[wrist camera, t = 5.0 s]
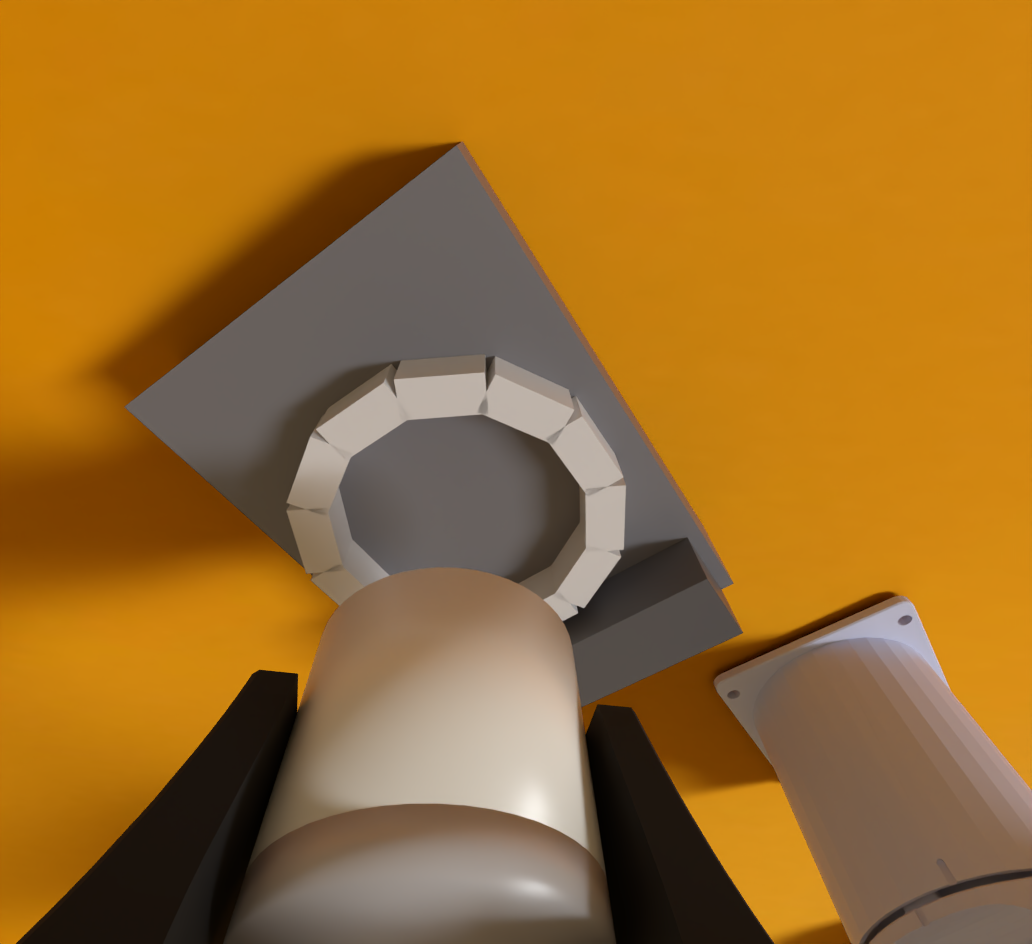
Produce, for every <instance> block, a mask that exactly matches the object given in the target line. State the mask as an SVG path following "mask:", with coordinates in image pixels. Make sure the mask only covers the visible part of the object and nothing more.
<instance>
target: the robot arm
mask: <svg viewBox="0 0 1032 944" xmlns="http://www.w3.org/2000/svg"><path fill="white" fill-rule="evenodd" d="M714 686H715V688H716V691H717V693H718V694H719V695H720V697H721V698H722V699H723V701H724V702H725V703H726V705H727V706H728V707H729V709H730V710H731V711H732V713H733V714H734V715H735V717H736V718H737V719H738V721H739V722H740V723H741V725H742V726H743V727H744V729H745V730H746V731H747V733H748V734H749V735H750V737H751V738H752V739H753V741H754V742H755V743H756V745H757V746H758V747H759V749H760V750H761V751H762V753H763V754H764V756H765V757H766V758H767V760H768V761H769V762H770V764H771V765H772V766H773V768H774V770H775V772H776V774H777V777H778V779H779V781H780V783H781V786H782V788H783V790H784V792H785V795H786V797H787V799H788V802H789V804H790V806H791V808H792V811H793V813H794V815H795V817H796V820H797V822H798V824H799V826H800V829H801V831H802V833H803V836H804V838H805V840H806V842H807V845H808V847H809V849H810V851H811V854H812V856H813V858H814V861H815V863H816V865H817V867H818V870H819V872H820V874H821V876H822V879H823V881H824V883H825V886H826V888H827V890H828V892H829V895H830V897H831V899H832V901H833V904H834V906H835V908H836V910H837V913H838V915H839V917H840V920H841V922H842V924H843V926H844V929H845V931H846V933H847V935H848V938H849V940H850V942H851V944H1032V790H1031V789H1030V788H1029V787H1028V785H1027V784H1026V783H1025V782H1024V781H1023V779H1022V778H1021V777H1020V776H1019V774H1018V773H1017V772H1016V771H1015V769H1014V768H1013V767H1012V766H1011V765H1010V763H1009V762H1008V761H1007V760H1006V758H1005V757H1004V756H1003V755H1002V753H1001V752H1000V751H999V750H998V749H997V747H996V746H995V745H994V744H993V742H992V741H991V740H990V739H989V737H988V736H987V735H986V734H985V733H984V731H983V730H982V729H981V728H980V726H979V725H978V724H977V723H976V721H975V720H974V719H973V718H972V717H971V715H970V714H969V713H968V712H967V710H966V709H965V708H964V707H963V705H962V704H961V703H960V702H959V701H958V699H957V698H956V697H955V696H954V694H953V693H952V692H951V690H950V688H949V686H948V683H947V681H946V679H945V676H944V674H943V672H942V669H941V667H940V665H939V662H938V660H937V658H936V655H935V653H934V651H933V648H932V646H931V644H930V641H929V639H928V637H927V635H926V632H925V630H924V628H923V625H922V623H921V621H920V618H919V616H918V614H917V611H916V609H915V607H914V605H913V604H912V603H911V602H910V600H909V599H908V598H907V597H904V596H895V597H892V598H890V599H888V600H885V601H883V602H881V603H879V604H876V605H874V606H872V607H870V608H867V609H865V610H863V611H861V612H858V613H856V614H854V615H852V616H849V617H847V618H845V619H843V620H840V621H838V622H836V623H834V624H831V625H829V626H827V627H825V628H822V629H820V630H818V631H816V632H813V633H811V634H809V635H807V636H804V637H802V638H800V639H798V640H796V641H793V642H791V643H789V644H787V645H784V646H782V647H780V648H778V649H775V650H773V651H771V652H769V653H766V654H764V655H762V656H760V657H757V658H755V659H753V660H751V661H748V662H746V663H744V664H742V665H739V666H737V667H735V668H733V669H730V670H728V671H726V672H724V673H721V674H720V675H718V676H717V677H716V678H715V679H714ZM297 691H298V674H295V673H285V672H275V671H266V670H258V671H257V672H255V673H253V674H252V675H251V677H250V678H249V680H248V681H247V683H246V684H245V686H244V687H243V688H242V690H241V691H240V693H239V694H238V695H237V697H236V698H235V700H234V701H233V702H232V704H231V705H230V706H229V708H228V709H227V710H226V712H225V713H224V714H223V716H222V717H221V718H220V720H219V721H218V722H217V724H216V725H215V726H214V727H213V729H212V730H211V731H210V732H209V734H208V735H207V736H206V738H205V739H204V740H203V741H202V743H201V744H200V745H199V746H198V748H197V749H196V750H195V751H194V753H193V754H192V755H191V756H190V757H189V758H188V760H187V761H186V762H185V763H184V764H183V766H182V767H181V768H180V769H179V770H178V772H177V773H176V774H175V775H174V776H173V777H172V779H171V780H170V781H169V782H168V783H167V785H166V786H165V787H164V788H163V789H162V791H161V792H160V793H159V794H158V795H157V796H156V798H155V799H154V800H153V801H152V802H151V803H150V804H149V806H148V807H147V808H146V809H145V810H144V811H143V812H142V813H141V814H140V816H139V817H138V818H137V819H136V820H135V821H134V822H133V823H132V824H131V825H130V826H129V828H128V829H127V830H126V831H125V832H124V833H123V834H122V835H121V836H120V837H119V838H118V840H117V841H116V842H115V843H114V844H113V845H112V846H111V847H110V848H109V849H108V850H107V852H106V853H105V854H104V855H103V856H102V857H101V858H100V859H99V860H98V861H97V862H96V864H95V865H94V866H93V867H92V868H91V869H90V870H89V871H88V872H87V873H86V874H85V875H84V876H83V877H82V878H81V879H80V880H79V881H78V882H77V883H76V884H75V885H74V886H73V887H72V888H71V889H70V890H69V891H68V893H67V894H66V895H65V896H64V897H63V898H62V899H61V900H60V901H59V902H58V903H57V904H56V905H55V906H54V907H53V908H52V909H51V910H50V911H49V912H48V913H47V914H46V915H45V916H44V917H43V918H41V919H40V920H39V921H38V922H37V923H36V924H35V925H34V926H33V927H32V928H31V929H30V930H29V931H28V932H27V933H26V934H25V935H24V936H23V937H22V938H21V939H20V940H19V941H18V942H17V943H16V944H223V942H224V939H225V936H226V933H227V930H228V927H229V923H230V920H231V917H232V914H233V911H234V908H235V905H236V902H237V899H238V895H239V892H240V889H241V886H242V883H243V880H244V877H245V874H246V871H247V867H248V864H249V861H250V858H251V855H252V852H253V849H254V846H255V843H256V839H257V836H258V833H259V830H260V827H261V824H262V821H263V818H264V815H265V811H266V808H267V805H268V802H269V799H270V796H271V793H272V790H273V787H274V783H275V780H276V777H277V774H278V771H279V768H280V765H281V762H282V759H283V755H284V752H285V749H286V746H287V743H288V740H289V737H290V734H291V731H292V727H293V724H294V721H295V718H296V715H297ZM585 736H586V743H587V749H588V756H589V763H590V770H591V776H592V783H593V790H594V796H595V803H596V810H597V817H598V823H599V830H600V837H601V844H602V850H603V857H604V864H605V871H606V877H607V884H608V891H609V897H610V904H611V911H612V918H613V924H614V931H615V938H616V944H774V942H773V941H772V940H771V938H770V937H769V935H768V934H767V932H766V931H765V930H764V928H763V927H762V925H761V924H760V922H759V921H758V919H757V918H756V916H755V915H754V914H753V912H752V911H751V909H750V908H749V906H748V905H747V903H746V902H745V900H744V899H743V897H742V895H741V894H740V892H739V891H738V889H737V888H736V886H735V885H734V883H733V882H732V880H731V879H730V877H729V876H728V874H727V873H726V871H725V869H724V868H723V866H722V865H721V863H720V861H719V860H718V858H717V857H716V855H715V853H714V852H713V850H712V849H711V847H710V845H709V844H708V842H707V840H706V839H705V837H704V835H703V834H702V832H701V830H700V829H699V827H698V825H697V824H696V822H695V820H694V819H693V817H692V815H691V814H690V812H689V810H688V809H687V807H686V805H685V803H684V802H683V800H682V798H681V796H680V795H679V793H678V791H677V789H676V788H675V786H674V784H673V782H672V780H671V779H670V777H669V775H668V773H667V772H666V770H665V768H664V766H663V764H662V762H661V761H660V759H659V757H658V755H657V753H656V751H655V750H654V748H653V746H652V744H651V742H650V740H649V738H648V736H647V735H646V733H645V731H644V729H643V727H642V725H641V723H640V721H639V719H638V718H637V716H636V714H635V712H634V711H633V710H632V708H629V707H619V706H610V705H600V704H598V705H597V707H596V710H595V712H594V715H593V717H592V720H591V723H590V725H589V728H588V730H587V733H586V735H585Z"/></svg>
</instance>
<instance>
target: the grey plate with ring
mask: <svg viewBox="0 0 1032 944" xmlns="http://www.w3.org/2000/svg"><path fill="white" fill-rule="evenodd" d="M125 408H126V409H127V410H128V411H129V412H131V413H132V414H133V415H134V416H135V417H136V418H137V419H138V420H139V421H141V422H142V423H143V424H144V425H145V426H146V427H147V428H148V429H150V430H151V431H152V432H153V433H154V434H155V435H156V436H157V437H158V438H160V439H161V440H162V441H163V442H164V443H165V444H166V445H167V446H168V447H170V448H171V449H172V450H173V451H174V452H175V453H176V454H177V455H179V456H180V457H181V458H182V459H183V460H184V461H185V462H186V463H187V464H189V465H190V466H191V467H192V468H193V469H194V470H195V471H196V472H198V473H199V474H200V475H201V476H202V477H203V478H204V479H205V480H206V481H208V482H209V483H210V484H211V485H212V486H213V487H214V488H215V489H216V490H218V491H219V492H220V493H221V494H222V495H223V496H224V497H225V498H227V499H228V500H229V501H230V502H231V503H232V504H233V505H234V506H235V507H237V508H238V509H239V510H240V511H241V512H242V513H243V514H244V515H246V516H247V517H248V518H249V519H250V520H251V521H252V522H253V523H254V524H256V525H257V526H258V527H259V528H260V529H261V530H262V531H263V532H265V533H266V534H267V535H268V536H269V537H270V538H271V539H272V540H273V541H275V542H276V543H277V544H278V545H279V546H280V547H281V548H282V549H283V550H285V551H286V552H287V553H288V554H289V555H290V556H291V557H292V558H294V559H295V560H296V561H297V562H298V563H299V564H300V565H301V566H302V567H304V568H305V571H306V574H307V573H310V574H311V575H313V576H312V578H311V581H312V582H313V583H314V584H316V585H317V586H318V587H319V588H320V589H321V590H322V591H323V592H325V593H326V594H327V595H328V596H329V597H330V598H331V599H332V600H333V601H335V602H336V603H337V604H338V605H339V606H340V605H341V604H342V603H343V602H344V601H345V600H346V599H348V598H349V597H350V596H352V595H353V594H354V593H355V592H357V591H358V590H360V589H362V588H364V587H365V586H367V585H369V584H371V583H373V582H375V581H378V580H380V579H382V578H384V577H388V576H391V575H394V574H398V573H401V572H406V571H411V570H416V569H425V568H436V567H443V568H463V569H471V570H477V571H482V572H486V573H491V574H494V575H497V576H500V577H503V578H506V579H509V580H511V581H513V582H515V583H517V584H519V585H522V586H524V587H525V588H527V589H528V590H530V591H532V592H533V593H535V594H537V595H538V596H539V597H540V598H541V599H543V600H544V601H545V602H546V603H548V604H549V605H550V606H551V608H552V609H553V610H554V611H555V612H556V613H557V614H558V616H559V617H560V619H561V620H562V622H563V623H564V625H565V627H566V629H567V631H568V634H569V636H570V640H571V644H572V648H573V655H574V662H575V669H576V675H577V682H578V689H579V696H580V702H581V707H583V706H585V705H587V704H590V703H592V702H594V701H596V700H598V699H600V698H603V697H605V696H607V695H609V694H611V693H614V692H616V691H618V690H620V689H622V688H624V687H627V686H629V685H631V684H633V683H635V682H637V681H640V680H642V679H644V678H646V677H648V676H650V675H653V674H655V673H657V672H659V671H661V670H664V669H666V668H668V667H670V666H672V665H674V664H677V663H679V662H681V661H683V660H685V659H687V658H690V657H692V656H694V655H696V654H698V653H701V652H703V651H705V650H707V649H709V648H711V647H714V646H716V645H718V644H720V643H722V642H724V641H727V640H729V639H731V638H733V637H735V636H737V635H740V634H742V633H743V632H742V630H741V628H740V626H739V624H738V622H737V620H736V618H735V616H734V614H733V612H732V610H731V608H730V606H729V604H728V602H727V600H726V598H725V596H724V594H723V592H722V590H721V589H723V588H725V587H727V586H729V585H731V584H733V582H732V580H731V578H730V576H729V574H728V572H727V570H726V568H725V567H724V565H723V563H722V561H721V559H720V557H719V555H718V553H717V551H716V550H715V548H714V546H713V544H712V542H711V540H710V538H709V536H708V534H707V533H706V531H705V529H704V527H703V525H702V524H701V522H700V520H699V519H698V517H697V516H696V514H695V512H694V511H693V509H692V508H691V506H690V504H689V503H688V501H687V500H686V498H685V496H684V495H683V493H682V492H681V490H680V488H679V487H678V485H677V484H676V482H675V480H674V479H673V477H672V476H671V474H670V472H669V471H668V469H667V468H666V466H665V464H664V463H663V461H662V460H661V458H660V456H659V455H658V453H657V452H656V450H655V448H654V447H653V445H652V444H651V442H650V440H649V439H648V437H647V436H646V434H645V432H644V431H643V429H642V428H641V426H640V424H639V423H638V421H637V420H636V418H635V416H634V415H633V413H632V412H631V410H630V408H629V407H628V405H627V404H626V402H625V400H624V399H623V397H622V396H621V394H620V392H619V391H618V389H617V388H616V386H615V384H614V383H613V381H612V380H611V378H610V376H609V375H608V373H607V372H606V370H605V368H604V367H603V365H602V364H601V362H600V360H599V359H598V357H597V356H596V354H595V352H594V351H593V349H592V348H591V346H590V344H589V343H588V341H587V340H586V338H585V336H584V335H583V333H582V332H581V330H580V328H579V327H578V325H577V324H576V322H575V320H574V319H573V317H572V316H571V314H570V312H569V311H568V309H567V308H566V306H565V304H564V303H563V301H562V300H561V298H560V296H559V295H558V293H557V292H556V290H555V288H554V287H553V285H552V284H551V282H550V280H549V279H548V277H547V276H546V274H545V273H544V271H543V269H542V268H541V266H540V265H539V263H538V261H537V260H536V258H535V257H534V255H533V253H532V252H531V250H530V249H529V247H528V245H527V244H526V242H525V241H524V239H523V237H522V236H521V234H520V233H519V231H518V229H517V228H516V226H515V225H514V223H513V221H512V220H511V218H510V217H509V215H508V213H507V212H506V210H505V209H504V207H503V205H502V204H501V202H500V201H499V199H498V197H497V196H496V194H495V193H494V191H493V189H492V188H491V186H490V185H489V183H488V181H487V180H486V178H485V177H484V175H483V173H482V172H481V170H480V169H479V167H478V165H477V164H476V162H475V161H474V159H473V157H472V156H471V154H470V153H469V151H468V149H467V148H466V146H465V145H464V143H463V142H461V143H459V144H458V145H456V146H455V147H454V148H452V149H451V150H450V151H448V152H447V153H446V154H445V155H443V156H442V157H441V158H440V159H438V160H437V161H436V162H434V163H433V164H432V165H431V166H429V167H428V168H427V169H426V170H424V171H423V172H422V173H421V174H419V175H418V176H417V177H415V178H414V179H413V180H412V181H410V182H409V183H408V184H407V185H405V186H404V187H403V188H401V189H400V190H399V191H398V192H396V193H395V194H394V195H393V196H391V197H390V198H389V199H388V200H386V201H385V202H384V203H382V204H381V205H380V206H379V207H377V208H376V209H375V210H374V211H372V212H371V213H370V214H368V215H367V216H366V217H365V218H363V219H362V220H361V221H360V222H358V223H357V224H356V225H355V226H353V227H352V228H351V229H349V230H348V231H347V232H346V233H344V234H343V235H342V236H341V237H339V238H338V239H337V240H336V241H334V242H333V243H332V244H330V245H329V246H328V247H327V248H325V249H324V250H323V251H322V252H320V253H319V254H318V255H316V256H315V257H314V258H313V259H311V260H310V261H309V262H308V263H306V264H305V265H304V266H303V267H301V268H300V269H299V270H297V271H296V272H295V273H294V274H292V275H291V276H290V277H289V278H287V279H286V280H285V281H283V282H282V283H281V284H280V285H278V286H277V287H276V288H275V289H273V290H272V291H271V292H270V293H268V294H267V295H266V296H264V297H263V298H262V299H261V300H259V301H258V302H257V303H256V304H254V305H253V306H252V307H251V308H249V309H248V310H247V311H245V312H244V313H243V314H242V315H240V316H239V317H238V318H237V319H235V320H234V321H233V322H231V323H230V324H229V325H228V326H226V327H225V328H224V329H223V330H221V331H220V332H219V333H218V334H216V335H215V336H214V337H212V338H211V339H210V340H209V341H207V342H206V343H205V344H204V345H202V346H201V347H200V348H198V349H197V350H196V351H195V352H193V353H192V354H191V355H190V356H188V357H187V358H186V359H185V360H183V361H182V362H181V363H179V364H178V365H177V366H176V367H174V368H173V369H172V370H171V371H169V372H168V373H167V374H166V375H164V376H163V377H162V378H160V379H159V380H158V381H157V382H155V383H154V384H153V385H152V386H150V387H149V388H148V389H146V390H145V391H144V392H143V393H141V394H140V395H139V396H138V397H136V398H135V399H134V400H133V401H131V402H130V403H129V404H127V405H126V406H125Z"/></svg>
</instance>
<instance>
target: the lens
mask: <svg viewBox="0 0 1032 944" xmlns="http://www.w3.org/2000/svg"><path fill="white" fill-rule="evenodd" d="M223 944H616V938H615V931H614V924H613V918H612V911H611V904H610V897H609V891H608V884H607V877H606V871H605V864H604V857H603V850H602V844H601V837H600V830H599V823H598V817H597V810H596V803H595V796H594V790H593V783H592V776H591V770H590V763H589V756H588V749H587V743H586V736H585V729H584V722H583V716H582V709H581V702H580V696H579V689H578V682H577V675H576V669H575V662H574V655H573V648H572V644H571V640H570V636H569V634H568V631H567V629H566V627H565V625H564V623H563V622H562V620H561V619H560V617H559V616H558V614H557V613H556V612H555V611H554V610H553V609H552V608H551V606H550V605H549V604H548V603H546V602H545V601H544V600H543V599H541V598H540V597H539V596H538V595H537V594H535V593H533V592H532V591H530V590H528V589H527V588H525V587H524V586H522V585H519V584H517V583H515V582H513V581H511V580H509V579H506V578H503V577H500V576H497V575H494V574H491V573H486V572H482V571H477V570H471V569H463V568H443V567H436V568H425V569H416V570H411V571H406V572H401V573H398V574H394V575H391V576H388V577H384V578H382V579H380V580H378V581H375V582H373V583H371V584H369V585H367V586H365V587H364V588H362V589H360V590H358V591H357V592H355V593H354V594H353V595H352V596H350V597H349V598H348V599H346V600H345V601H344V602H343V603H342V604H341V605H340V606H339V607H338V608H337V610H336V611H335V612H334V613H333V615H332V616H331V618H330V619H329V621H328V622H327V625H326V627H325V629H324V632H323V634H322V637H321V640H320V643H319V647H318V650H317V653H316V656H315V659H314V662H313V665H312V668H311V671H310V675H309V678H308V681H307V684H306V687H305V690H304V693H303V696H302V699H301V703H300V706H299V709H298V712H297V715H296V718H295V721H294V724H293V727H292V731H291V734H290V737H289V740H288V743H287V746H286V749H285V752H284V755H283V759H282V762H281V765H280V768H279V771H278V774H277V777H276V780H275V783H274V787H273V790H272V793H271V796H270V799H269V802H268V805H267V808H266V811H265V815H264V818H263V821H262V824H261V827H260V830H259V833H258V836H257V839H256V843H255V846H254V849H253V852H252V855H251V858H250V861H249V864H248V867H247V871H246V874H245V877H244V880H243V883H242V886H241V889H240V892H239V895H238V899H237V902H236V905H235V908H234V911H233V914H232V917H231V920H230V923H229V927H228V930H227V933H226V936H225V939H224V942H223Z"/></svg>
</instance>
